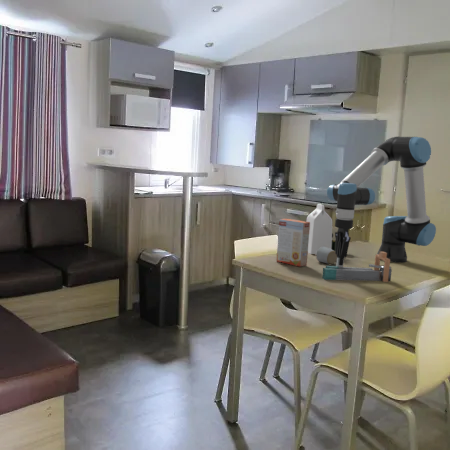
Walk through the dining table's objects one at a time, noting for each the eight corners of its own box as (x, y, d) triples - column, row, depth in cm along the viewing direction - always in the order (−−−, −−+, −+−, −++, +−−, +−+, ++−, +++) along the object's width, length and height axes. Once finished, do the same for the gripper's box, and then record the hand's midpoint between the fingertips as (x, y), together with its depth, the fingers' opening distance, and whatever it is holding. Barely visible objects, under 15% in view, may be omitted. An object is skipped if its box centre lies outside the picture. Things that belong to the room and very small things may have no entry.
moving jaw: (385, 277, 229) (386, 263, 228) (391, 281, 222) (393, 266, 221) (325, 275, 226) (326, 260, 225) (329, 278, 220) (330, 264, 219)
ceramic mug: (327, 265, 246) (328, 249, 245) (315, 262, 253) (316, 246, 252) (342, 264, 252) (344, 249, 251) (330, 260, 259) (332, 245, 258)
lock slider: (377, 276, 230) (380, 250, 229) (387, 282, 220) (390, 254, 218) (373, 275, 230) (376, 249, 228) (383, 281, 220) (386, 254, 218)
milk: (331, 254, 274) (335, 206, 271) (310, 254, 272) (314, 205, 268) (322, 250, 286) (326, 203, 282) (302, 249, 284) (306, 202, 280)
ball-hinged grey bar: (387, 278, 227) (388, 267, 226) (392, 281, 222) (393, 270, 221) (321, 277, 222) (322, 265, 222) (325, 280, 218) (326, 268, 217)
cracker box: (307, 265, 244) (310, 221, 241) (299, 267, 240) (303, 222, 237) (283, 260, 253) (286, 217, 250) (275, 261, 249) (279, 218, 246)
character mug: (322, 251, 283) (324, 227, 281) (326, 249, 289) (328, 226, 287) (342, 254, 278) (344, 230, 276) (346, 252, 284) (348, 228, 282)
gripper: (331, 216, 230) (326, 268, 233) (341, 220, 217) (335, 275, 221) (347, 217, 231) (342, 268, 234) (358, 221, 218) (352, 275, 222)
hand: (339, 271), depth 227 cm, fingers closed
